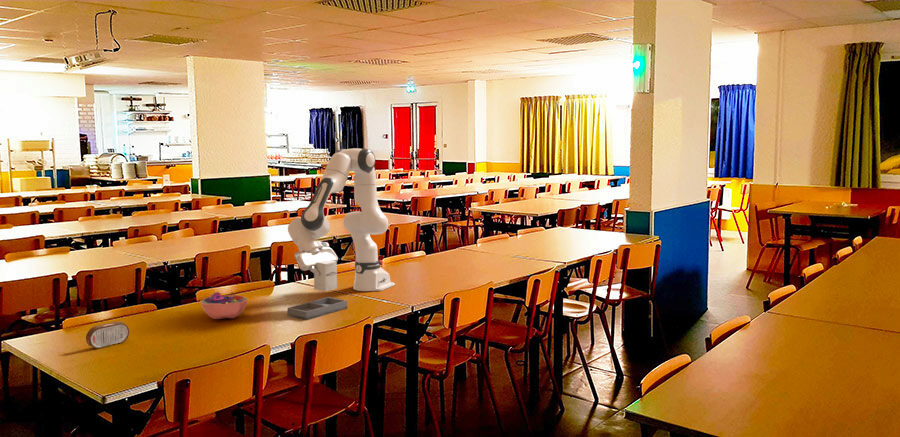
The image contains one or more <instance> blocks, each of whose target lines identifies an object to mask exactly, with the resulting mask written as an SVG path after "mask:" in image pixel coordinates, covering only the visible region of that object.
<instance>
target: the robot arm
mask: <svg viewBox="0 0 900 437" xmlns="http://www.w3.org/2000/svg"><path fill="white" fill-rule="evenodd" d="M375 164H376V156H375V154H374V152H373V150H371V149H369V148H368V149H367V148H357V147H356V148H355V147H353V148H347V149H346V148H342V149H338V150H336V152H335V153H334V154H333V155H332V156H331V157H330V159H329V161H328V163H327V165H326V166H325V169H324V173H323V175H322V178H321V180H320V182H319V184H318V185H317V187H316V189H315V191H314V194H313V196H312V198H311V201H310V202H309V204H308V205H307V207H305V209H304V210H303V211H302V213H301V214H300V215H301V216H300V218H299V217H296V218H294V219H292V220H291V221H290V222H289V224H288V226H287V232H288V234H289V236H290V238H291V240H292V242H293V243H294V244H295V245H296V246H297V249H298V251H297V252H295V253H294V258H295V260H296V262H297V265H298V267H299V268H300V270H301V271H303V272H305V271H310V272H312V273H313V274H314V273H315V274H316V276H320V275H321V273H320V271H318V270H316V269H315V265H316V262H320V261H325V260H330V261H336V262H338V260H339V257H338V255H337V254H336V252H335V251H334V250H333V248H331V247H330V244H329V243H328V242H326V241H319V240H318V239H320V238H323V237H325V236H326V235H327V234H328V233H329V232H330V228H331V227H330V226H331V225H330V222H329V220H328V218H326V216H325V215H324V214H325V213H324V209H325V206H326V204H327V202H328V200H329V197H330V195H331V194H336V193H339V192H342V190H344V187H345V185H346V183H347V181H348V178H349V174H350V172H353V173H354V177H353V188H354V191H353V196H354V201H355V202H356V203H357V204H358V206H359V207H360V209H361V211H359V210H358V211H357V210H356V211H351V212H347V214H345V215H344V218H343V226H344V228H345V230H347V232H348V233H349V234H350V236H351V239H352V240H353V243H354V250H355V251H354V252H355V261H354V269H355V271H354V272H355V273H354V282H353V286H352V287H353V290H355V291H358V292H375V291H376V292H380V291H384V290H386V289H389V288H391V287H393V286H395V285H396V284H395V282H393V281H391V276H390V273H388V271H386V270H385V269H383V267H381V265H384V263H385V261H384V260H381V259H380V260H379V255H378V245H377V243H376V242H375V241H374V240H373V239H372V237H371V235H375V236H376V235H383V234H384V233H386V232H387V230H388V228H389V219H388V217H387V216H386V215H385V214H384V213H383V211H382V210H381V207H380V204H379V202H378V195H377V191H378V190H377V175H376V168H375Z"/></svg>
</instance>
